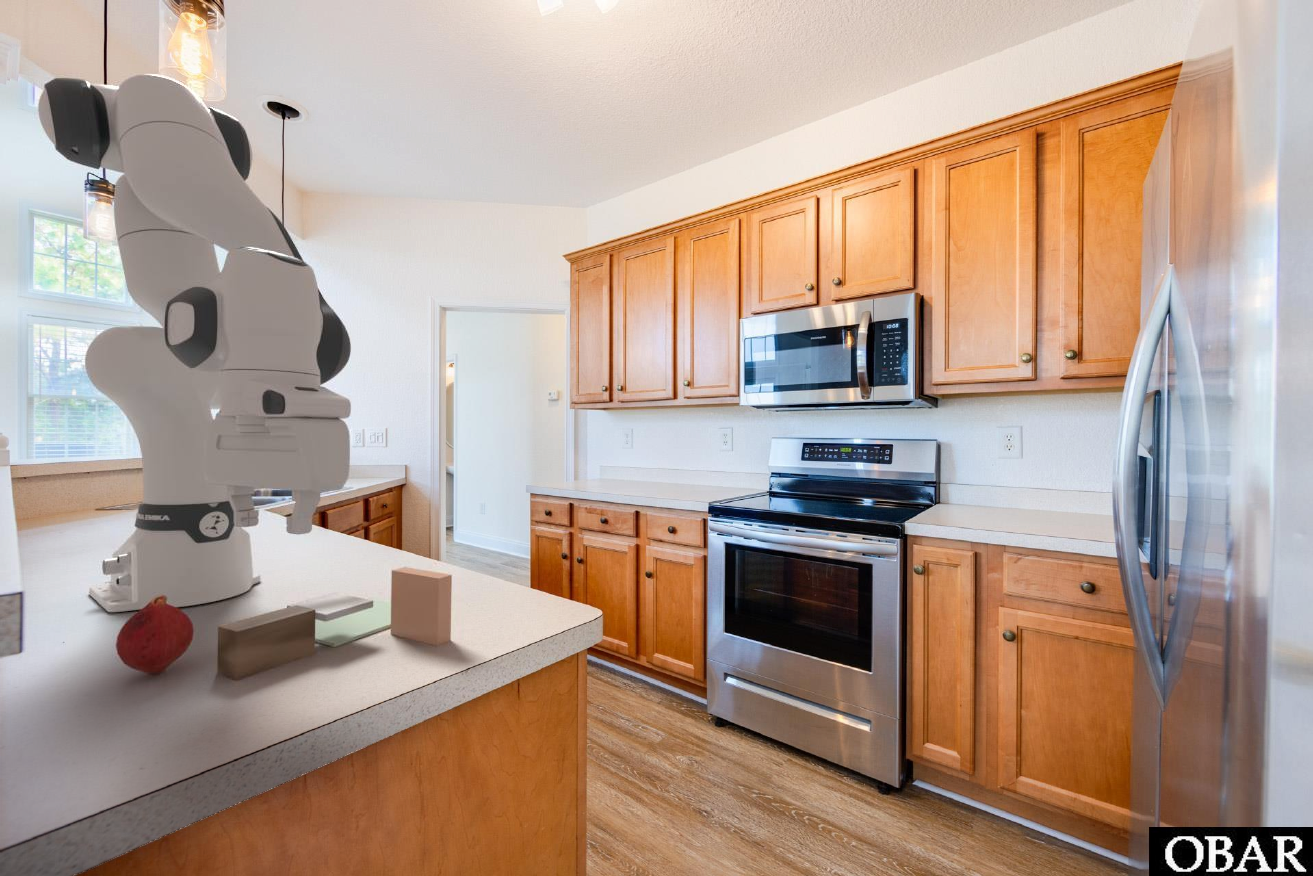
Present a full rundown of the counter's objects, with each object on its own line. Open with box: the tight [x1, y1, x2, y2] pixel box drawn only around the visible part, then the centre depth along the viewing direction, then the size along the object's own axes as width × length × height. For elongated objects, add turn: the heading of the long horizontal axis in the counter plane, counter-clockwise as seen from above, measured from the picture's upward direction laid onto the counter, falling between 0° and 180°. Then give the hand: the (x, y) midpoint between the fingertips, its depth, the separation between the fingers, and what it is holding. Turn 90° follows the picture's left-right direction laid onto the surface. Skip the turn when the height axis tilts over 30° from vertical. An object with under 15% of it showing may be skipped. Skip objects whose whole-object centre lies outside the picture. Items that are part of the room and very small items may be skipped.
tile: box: [390, 566, 453, 646], centre depth 68 cm, size 8×2×8 cm, turn 65°
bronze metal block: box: [216, 592, 373, 682], centre depth 63 cm, size 7×14×5 cm, turn 155°
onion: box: [115, 595, 195, 675], centre depth 57 cm, size 6×6×8 cm
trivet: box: [315, 597, 391, 648], centre depth 74 cm, size 12×14×1 cm
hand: (271, 529), depth 60 cm, fingers open, 8 cm apart
